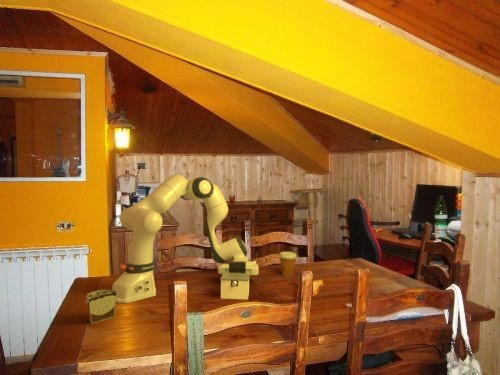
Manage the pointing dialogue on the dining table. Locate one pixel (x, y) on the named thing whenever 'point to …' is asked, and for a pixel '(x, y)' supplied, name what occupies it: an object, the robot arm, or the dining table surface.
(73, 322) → the dining table surface
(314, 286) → the slice of bread
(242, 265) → the plunger
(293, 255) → the disposable coffee cup
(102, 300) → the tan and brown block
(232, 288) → the block
